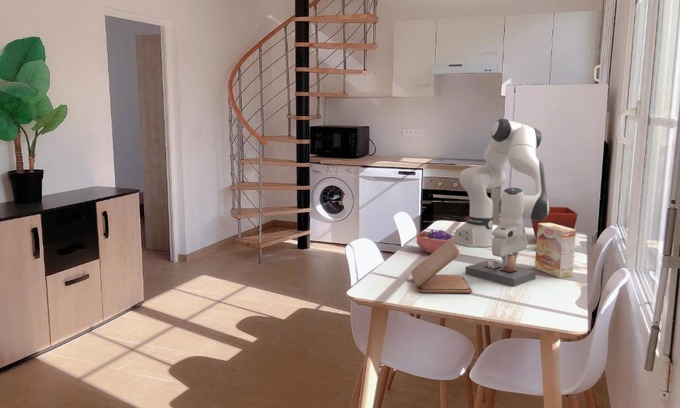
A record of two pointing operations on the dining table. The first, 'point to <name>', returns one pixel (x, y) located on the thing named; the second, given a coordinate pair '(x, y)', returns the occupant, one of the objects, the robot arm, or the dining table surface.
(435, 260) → the case
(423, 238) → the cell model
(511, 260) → the tan oval egg shape
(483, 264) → the housing
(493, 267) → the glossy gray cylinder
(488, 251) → the dining table surface
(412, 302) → the dining table surface
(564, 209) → the plant pot
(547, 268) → the coffeecake box
